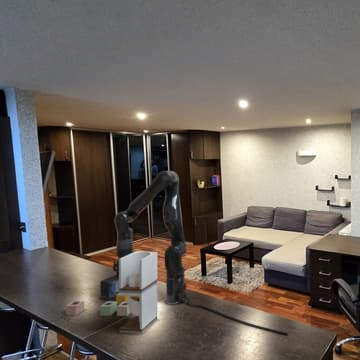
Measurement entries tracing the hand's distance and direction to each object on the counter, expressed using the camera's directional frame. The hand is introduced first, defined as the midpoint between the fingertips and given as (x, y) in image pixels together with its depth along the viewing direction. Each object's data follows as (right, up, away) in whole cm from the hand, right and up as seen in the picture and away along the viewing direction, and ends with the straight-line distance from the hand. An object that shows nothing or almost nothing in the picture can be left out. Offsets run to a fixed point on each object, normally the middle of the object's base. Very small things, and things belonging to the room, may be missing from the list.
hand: (124, 274), depth 153 cm
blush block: (-17, -16, -12) cm, 26 cm away
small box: (-12, -15, +7) cm, 21 cm away
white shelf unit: (+23, -18, -21) cm, 36 cm away
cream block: (+8, -17, -11) cm, 22 cm away
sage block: (0, -16, -11) cm, 20 cm away
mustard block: (-1, -16, +1) cm, 16 cm away
